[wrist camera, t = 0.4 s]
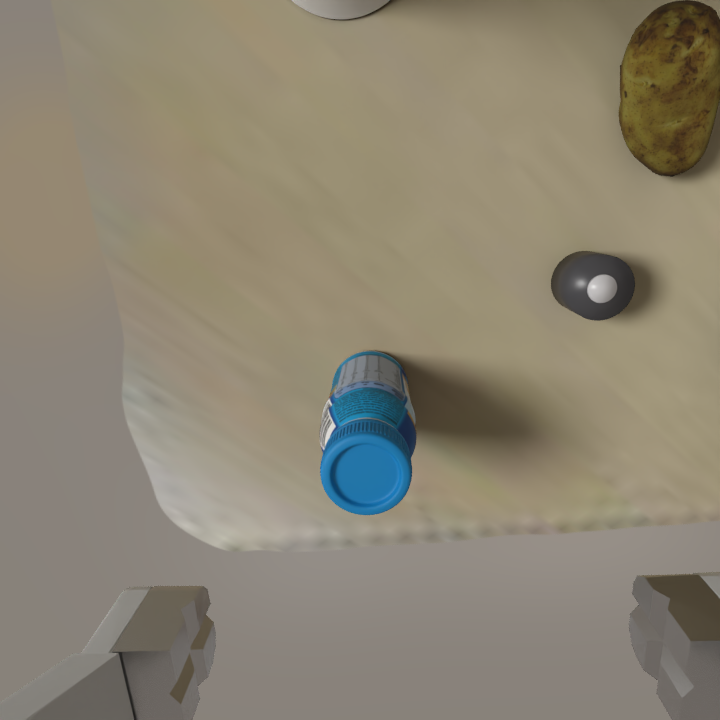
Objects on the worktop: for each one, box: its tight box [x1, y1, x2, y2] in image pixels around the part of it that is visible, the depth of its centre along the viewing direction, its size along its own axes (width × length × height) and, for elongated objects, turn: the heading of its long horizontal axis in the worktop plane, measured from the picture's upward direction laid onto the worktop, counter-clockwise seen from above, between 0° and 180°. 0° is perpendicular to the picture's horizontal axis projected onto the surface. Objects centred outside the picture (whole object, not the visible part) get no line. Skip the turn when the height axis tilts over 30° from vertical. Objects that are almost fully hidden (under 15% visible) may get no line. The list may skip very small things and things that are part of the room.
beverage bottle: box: [320, 351, 416, 515], centre depth 47 cm, size 8×8×20 cm
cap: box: [551, 251, 635, 320], centre depth 50 cm, size 6×6×5 cm
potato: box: [619, 0, 720, 176], centre depth 44 cm, size 8×13×8 cm, turn 1°
